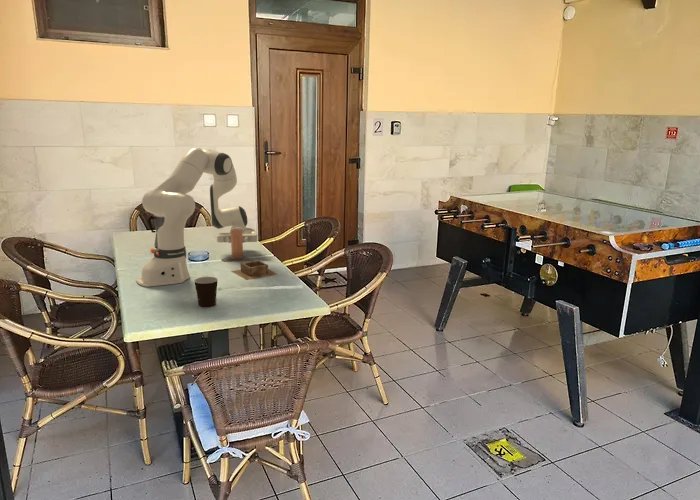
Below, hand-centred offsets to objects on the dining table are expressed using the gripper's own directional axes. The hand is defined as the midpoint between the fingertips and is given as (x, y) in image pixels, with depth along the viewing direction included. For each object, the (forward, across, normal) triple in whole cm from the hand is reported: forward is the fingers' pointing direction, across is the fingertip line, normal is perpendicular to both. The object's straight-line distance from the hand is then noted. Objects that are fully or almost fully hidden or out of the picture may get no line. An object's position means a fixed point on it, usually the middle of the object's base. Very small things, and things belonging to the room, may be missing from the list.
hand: (236, 241), depth 261 cm
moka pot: (-35, -42, +11) cm, 56 cm away
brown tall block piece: (0, 0, +9) cm, 9 cm away
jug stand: (+24, +9, +11) cm, 28 cm away
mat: (-1, 0, +11) cm, 11 cm away
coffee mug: (+60, -8, +11) cm, 62 cm away
